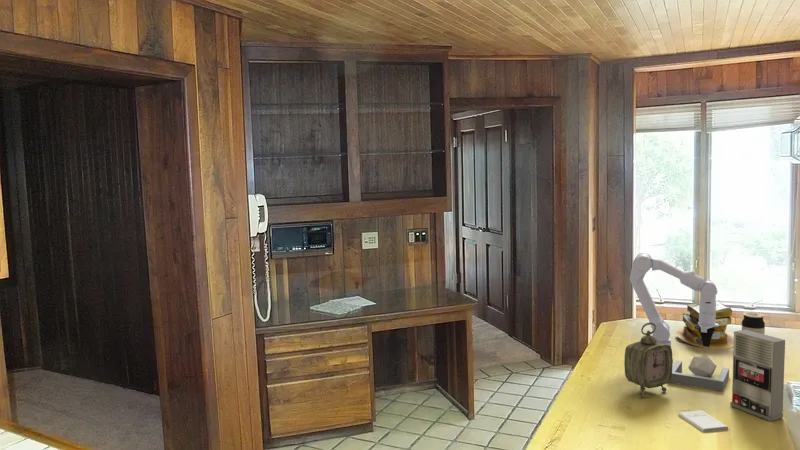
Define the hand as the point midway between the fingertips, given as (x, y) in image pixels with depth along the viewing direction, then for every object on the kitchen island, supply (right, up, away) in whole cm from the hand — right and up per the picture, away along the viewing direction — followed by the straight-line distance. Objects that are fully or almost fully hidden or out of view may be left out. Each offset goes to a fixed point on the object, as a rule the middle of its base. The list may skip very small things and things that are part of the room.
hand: (706, 346), depth 237 cm
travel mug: (+23, -7, +9) cm, 25 cm away
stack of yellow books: (+17, -4, +34) cm, 38 cm away
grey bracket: (-9, -10, -13) cm, 18 cm away
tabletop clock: (-33, -12, -24) cm, 42 cm away
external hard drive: (-26, -15, -49) cm, 57 cm away
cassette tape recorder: (-6, -13, -43) cm, 45 cm away
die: (-7, -10, -11) cm, 16 cm away
